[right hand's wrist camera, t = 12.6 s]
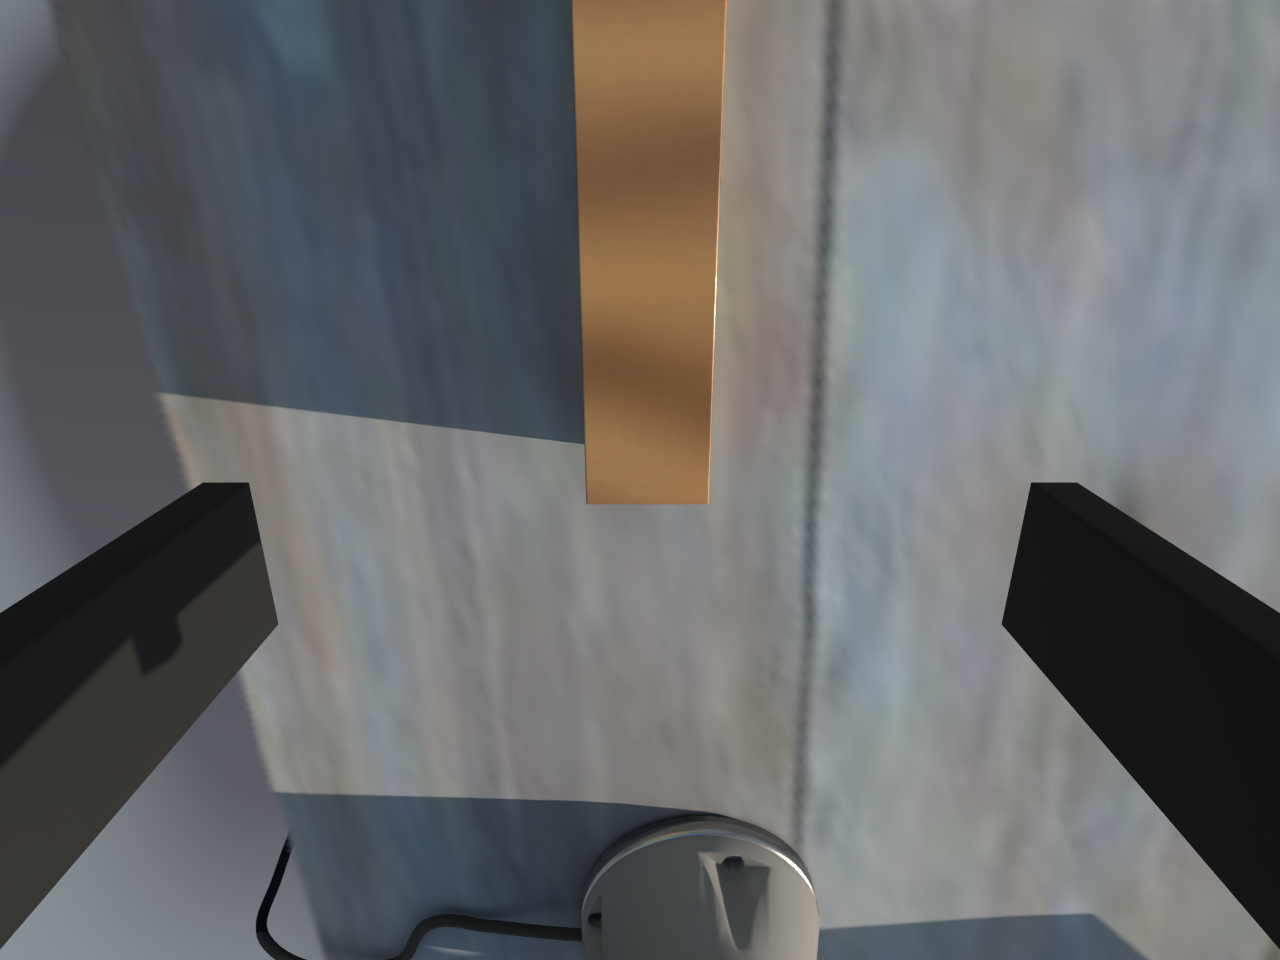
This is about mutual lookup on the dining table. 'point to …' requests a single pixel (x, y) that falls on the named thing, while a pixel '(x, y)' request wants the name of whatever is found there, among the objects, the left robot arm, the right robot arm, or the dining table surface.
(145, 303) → the dining table surface
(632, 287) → the beam
